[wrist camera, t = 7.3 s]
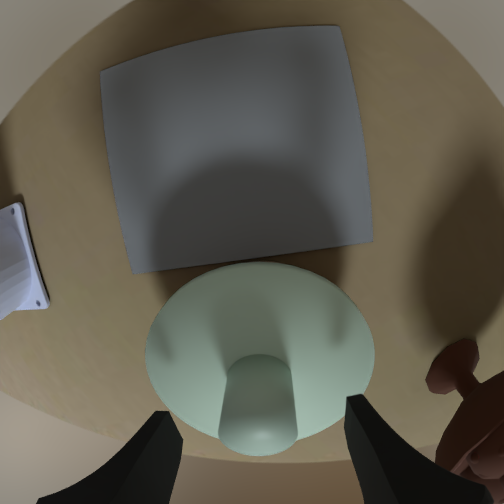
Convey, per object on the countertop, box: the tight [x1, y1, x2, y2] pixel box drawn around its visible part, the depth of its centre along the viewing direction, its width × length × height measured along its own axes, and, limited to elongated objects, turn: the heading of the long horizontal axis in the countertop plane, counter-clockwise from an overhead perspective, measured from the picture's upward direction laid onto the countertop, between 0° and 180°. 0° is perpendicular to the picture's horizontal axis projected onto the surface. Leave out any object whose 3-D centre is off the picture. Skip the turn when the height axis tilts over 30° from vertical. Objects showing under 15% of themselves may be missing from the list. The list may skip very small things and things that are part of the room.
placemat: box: [100, 26, 373, 274], centre depth 14 cm, size 14×13×1 cm
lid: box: [145, 262, 374, 456], centre depth 11 cm, size 11×11×4 cm
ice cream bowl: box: [426, 339, 504, 504], centre depth 11 cm, size 11×11×15 cm
